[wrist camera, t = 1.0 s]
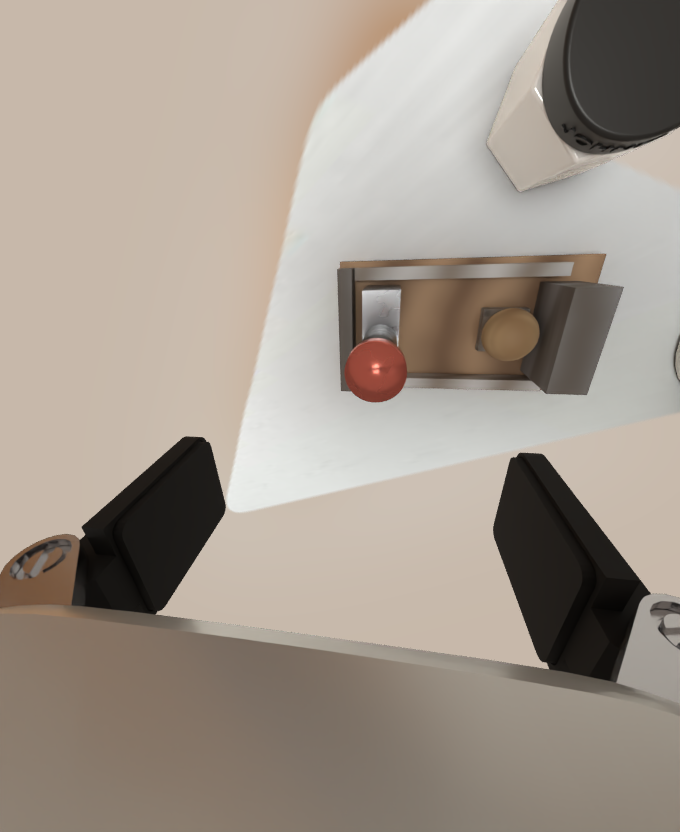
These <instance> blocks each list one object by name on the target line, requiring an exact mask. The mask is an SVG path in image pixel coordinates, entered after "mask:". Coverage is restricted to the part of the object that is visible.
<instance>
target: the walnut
mask: <svg viewBox="0 0 680 832" xmlns="http://www.w3.org/2000/svg"><path fill="white" fill-rule="evenodd" d="M539 334H540V330H539V324H538V322H537V320H536V319H535V317H534V316H533V315H532V314H531V313H529V312H528V311H526V310H523V309H519V308H509V309H504V310H501V311H499V312H497V313H496V314H494V315H493V316H492V317H491V318H490V319H489V320H488V321H487V322H486V324H485V325H484V327H483V330H482V335H481V341H482V345H483V348H484V349H485V351H486V352H487V353H488V354H489V355H490V356H491V357H493V358H495V359H497V360H501V361H514V360H518V359H520V358H522V357H524V356H526V355H527V354H528V353H530V352H531V351H532V350H533V348H534V347H535V345H536V344H537V342H538V339H539Z"/></svg>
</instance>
